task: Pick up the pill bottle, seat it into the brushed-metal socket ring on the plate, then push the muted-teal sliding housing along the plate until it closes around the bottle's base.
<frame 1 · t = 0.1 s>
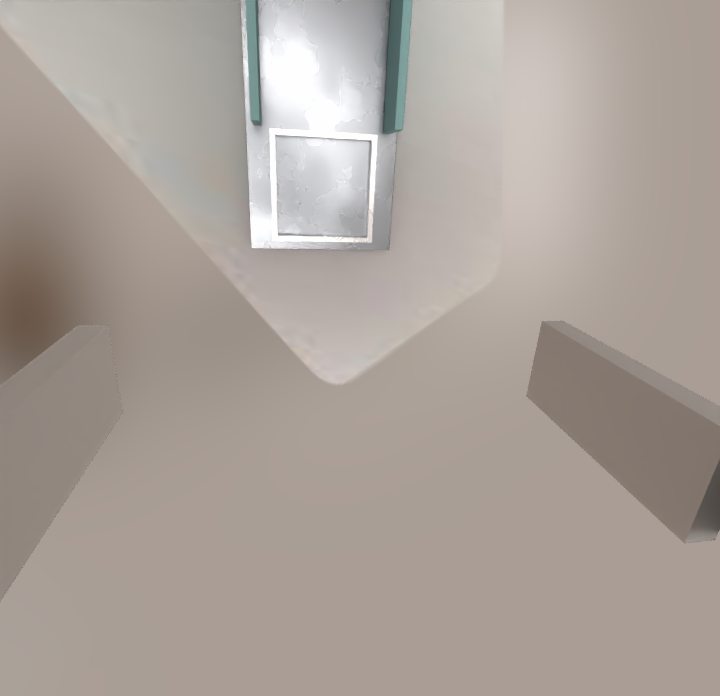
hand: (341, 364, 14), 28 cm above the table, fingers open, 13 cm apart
housing: (327, 30, 31), point 4 cm above the table, slide at 9.0 cm
plate: (322, 109, 36), on the table
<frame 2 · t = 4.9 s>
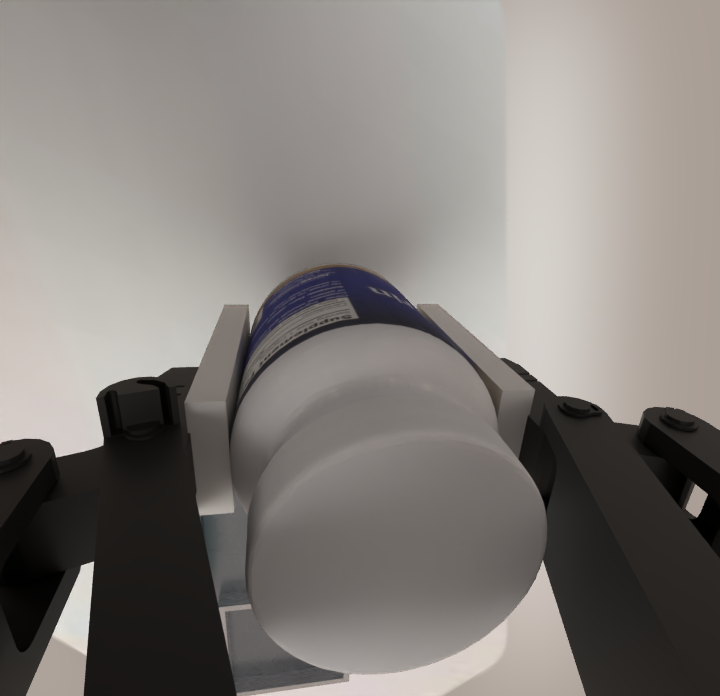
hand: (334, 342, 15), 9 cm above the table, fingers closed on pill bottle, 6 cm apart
housing: (285, 535, 24), point 4 cm above the table, slide at 9.0 cm
plate: (286, 550, 29), on the table
pill bottle: (332, 337, 16), point 8 cm above the table, touching gripper
when the fingers open (2 cm above the table, at t = 11.3 s): pill bottle stays where it is, resting on plate.
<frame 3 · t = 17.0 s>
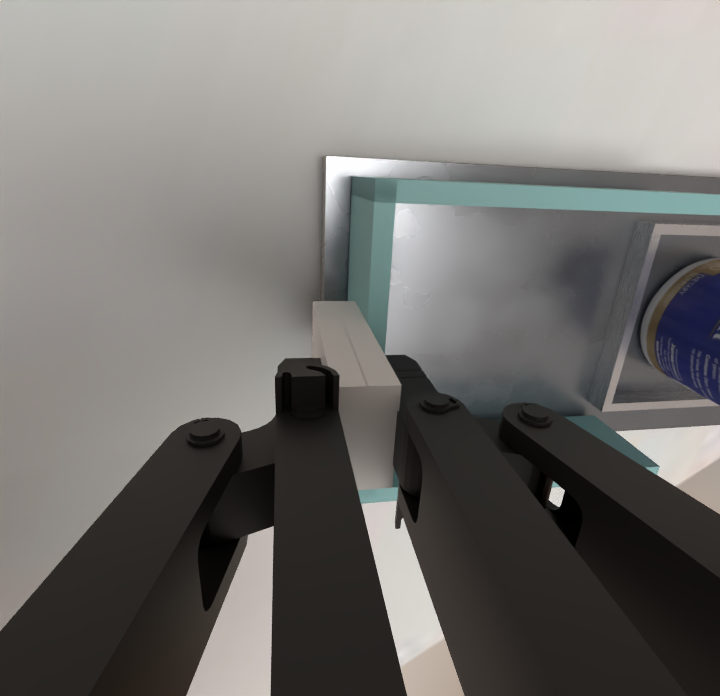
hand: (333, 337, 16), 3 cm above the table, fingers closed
housing: (515, 338, 17), point 3 cm above the table, slide at 8.5 cm, touching gripper
plate: (557, 310, 20), on the table
pill bottle: (686, 315, 21), point 1 cm above the table, touching plate
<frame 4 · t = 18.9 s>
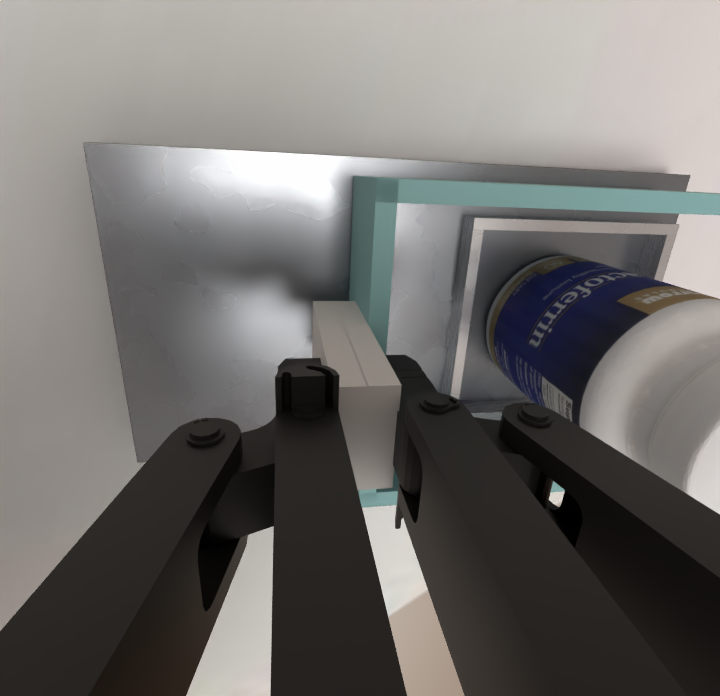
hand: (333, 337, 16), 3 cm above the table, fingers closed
housing: (518, 340, 16), point 3 cm above the table, slide at 0.9 cm, touching gripper
plate: (400, 312, 19), on the table
pill bottle: (541, 318, 19), point 1 cm above the table, touching plate
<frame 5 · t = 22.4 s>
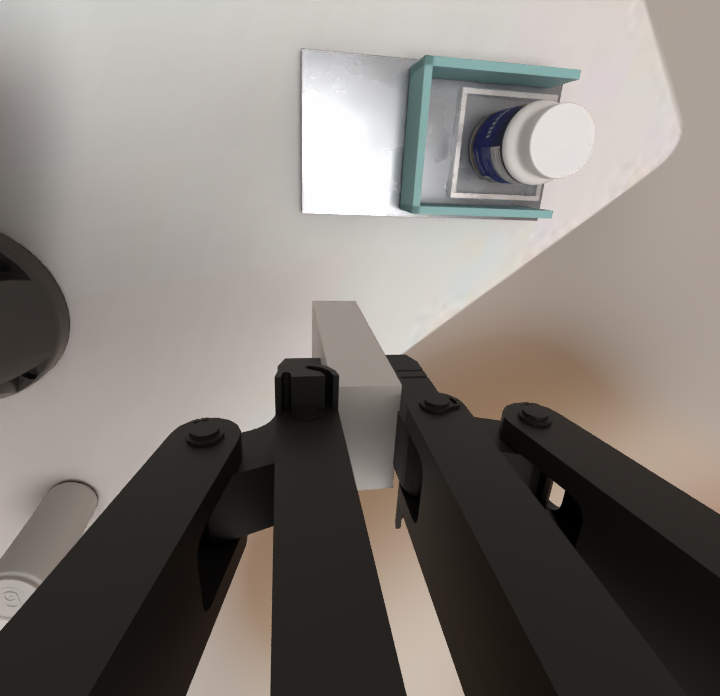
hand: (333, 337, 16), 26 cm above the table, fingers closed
housing: (483, 145, 36), point 3 cm above the table, slide at 0.9 cm
beverage can: (75, 496, 46), on the table
plate: (428, 144, 39), on the table
pill bottle: (497, 147, 39), point 1 cm above the table, touching plate
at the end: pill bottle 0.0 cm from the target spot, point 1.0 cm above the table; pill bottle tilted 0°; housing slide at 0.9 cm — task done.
